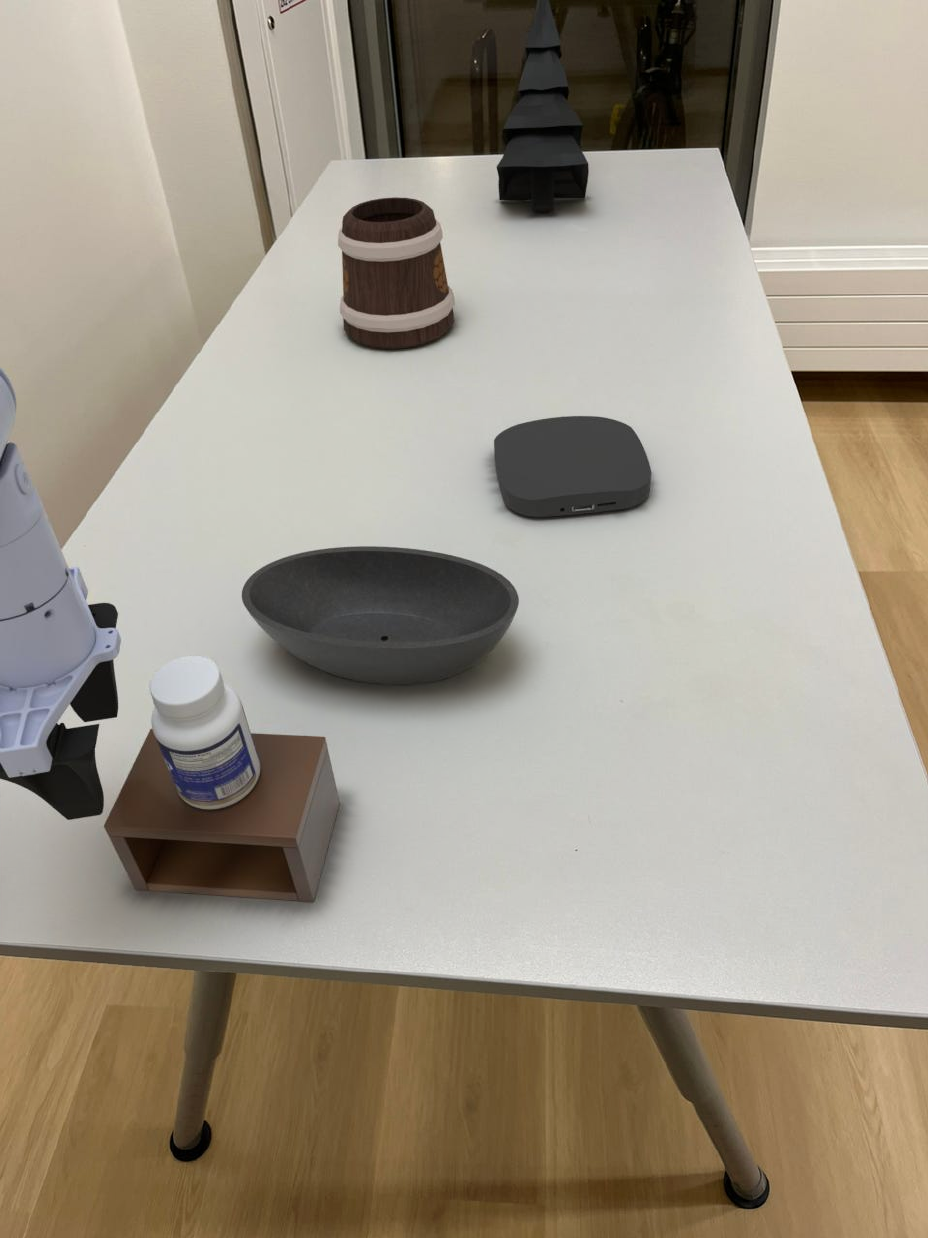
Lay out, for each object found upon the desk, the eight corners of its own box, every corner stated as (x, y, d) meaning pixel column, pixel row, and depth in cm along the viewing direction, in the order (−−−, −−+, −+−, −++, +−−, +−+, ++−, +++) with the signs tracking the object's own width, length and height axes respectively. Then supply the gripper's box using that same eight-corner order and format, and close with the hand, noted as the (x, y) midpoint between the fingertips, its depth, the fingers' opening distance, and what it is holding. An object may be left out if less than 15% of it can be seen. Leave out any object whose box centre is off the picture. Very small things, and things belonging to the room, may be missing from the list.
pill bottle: (182, 752, 62) (144, 652, 56) (263, 742, 62) (234, 641, 56) (172, 817, 58) (130, 717, 52) (258, 807, 58) (227, 706, 52)
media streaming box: (490, 446, 102) (488, 421, 100) (625, 432, 102) (626, 407, 100) (507, 524, 91) (506, 498, 89) (658, 509, 91) (661, 482, 89)
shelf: (134, 890, 62) (103, 826, 58) (176, 792, 68) (150, 728, 64) (314, 902, 61) (295, 837, 56) (340, 802, 67) (325, 736, 62)
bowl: (508, 719, 72) (505, 659, 67) (233, 691, 75) (216, 633, 71) (530, 615, 80) (529, 556, 76) (284, 595, 84) (270, 538, 80)
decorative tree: (585, 222, 161) (587, 4, 158) (589, 192, 147) (591, -50, 143) (499, 225, 163) (499, 9, 159) (494, 195, 148) (494, -44, 145)
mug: (449, 352, 119) (440, 230, 109) (331, 352, 121) (313, 232, 111) (466, 289, 134) (460, 177, 124) (361, 290, 136) (347, 179, 126)
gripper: (70, 670, 43) (151, 849, 52) (107, 496, 54) (169, 669, 63) (-91, 695, 42) (18, 872, 51) (-21, 514, 53) (60, 686, 62)
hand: (93, 762), depth 57 cm, fingers open, 7 cm apart
